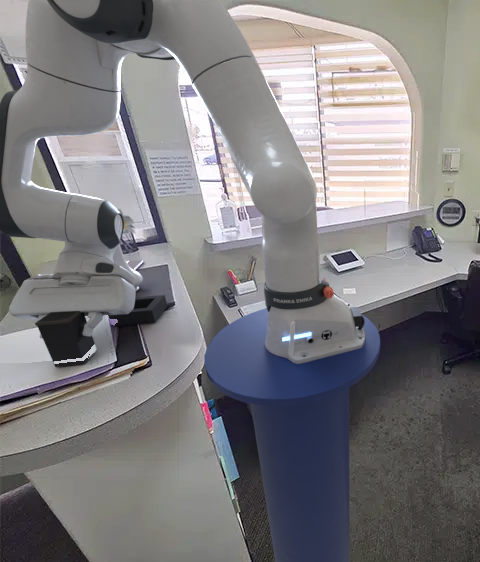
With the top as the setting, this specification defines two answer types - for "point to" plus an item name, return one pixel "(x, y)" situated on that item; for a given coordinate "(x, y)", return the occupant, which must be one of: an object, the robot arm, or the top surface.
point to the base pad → (143, 311)
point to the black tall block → (65, 336)
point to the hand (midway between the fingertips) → (66, 337)
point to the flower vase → (118, 255)
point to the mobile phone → (134, 263)
